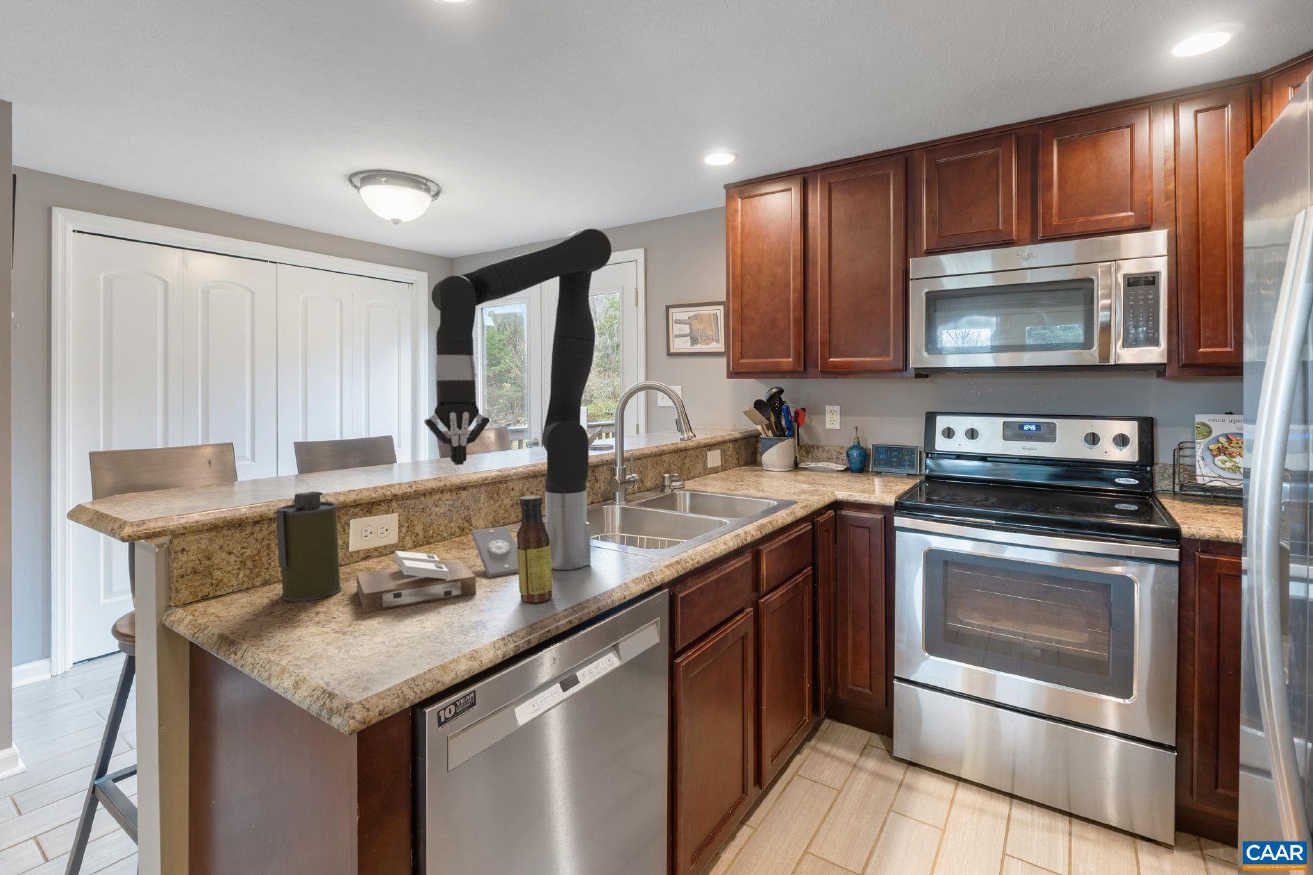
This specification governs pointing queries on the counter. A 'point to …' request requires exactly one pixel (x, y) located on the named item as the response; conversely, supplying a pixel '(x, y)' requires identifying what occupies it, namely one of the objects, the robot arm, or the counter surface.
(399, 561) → the rocker
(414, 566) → the rocker
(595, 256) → the robot arm
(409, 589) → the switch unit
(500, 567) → the light switch
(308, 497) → the canister
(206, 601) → the counter surface
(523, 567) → the sauce bottle
